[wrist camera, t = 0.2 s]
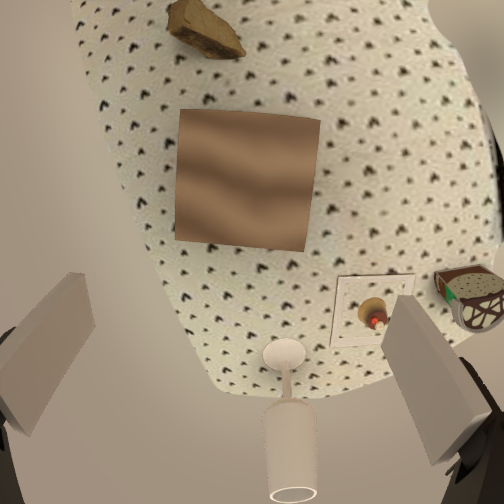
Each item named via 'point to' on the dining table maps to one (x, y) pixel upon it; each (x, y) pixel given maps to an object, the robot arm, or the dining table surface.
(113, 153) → the dining table surface
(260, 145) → the plinth
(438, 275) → the food container
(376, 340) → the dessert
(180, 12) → the rock
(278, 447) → the champagne flute
